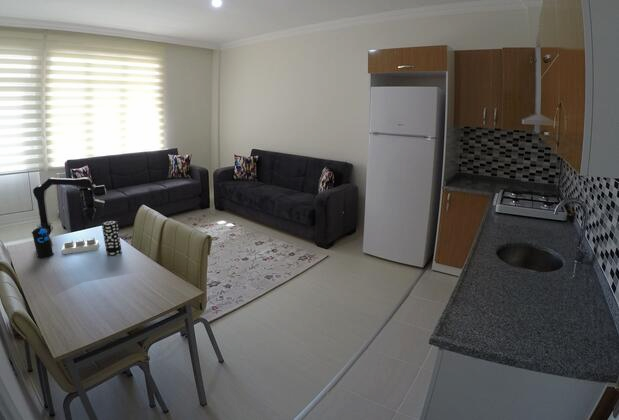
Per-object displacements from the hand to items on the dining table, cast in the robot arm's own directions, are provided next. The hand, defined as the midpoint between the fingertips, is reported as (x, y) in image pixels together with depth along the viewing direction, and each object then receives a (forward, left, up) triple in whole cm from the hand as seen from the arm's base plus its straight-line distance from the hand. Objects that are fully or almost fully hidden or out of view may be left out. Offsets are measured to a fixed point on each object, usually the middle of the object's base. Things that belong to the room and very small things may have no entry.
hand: (92, 219), depth 239 cm
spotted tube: (+12, -30, -15) cm, 35 cm away
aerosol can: (-26, -17, -15) cm, 34 cm away
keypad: (-7, -14, -15) cm, 21 cm away
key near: (-13, -14, -12) cm, 23 cm away
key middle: (-7, -14, -12) cm, 20 cm away
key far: (-1, -14, -12) cm, 18 cm away
